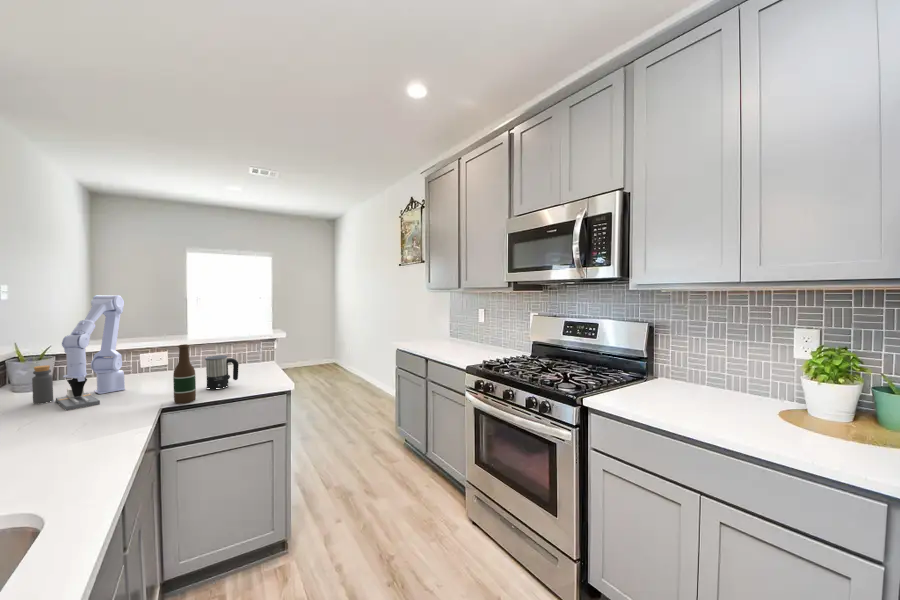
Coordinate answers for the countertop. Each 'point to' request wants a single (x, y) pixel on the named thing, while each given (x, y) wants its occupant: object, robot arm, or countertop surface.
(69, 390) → the fader tab
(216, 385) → the milk frother
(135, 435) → the countertop surface
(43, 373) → the bottle
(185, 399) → the beer bottle
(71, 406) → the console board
